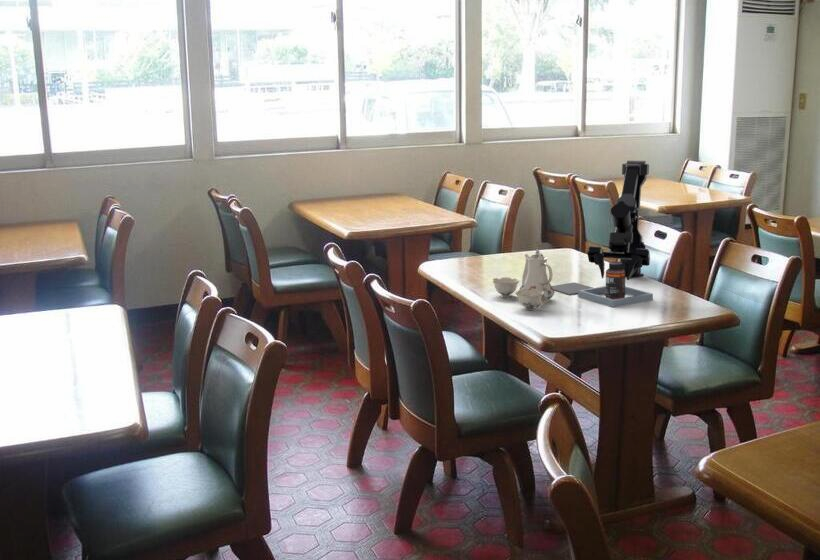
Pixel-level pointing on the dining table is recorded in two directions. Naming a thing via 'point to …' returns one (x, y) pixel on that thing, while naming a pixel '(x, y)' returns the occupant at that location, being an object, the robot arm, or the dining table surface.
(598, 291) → the bin
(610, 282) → the supplement bottle
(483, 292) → the dining table surface
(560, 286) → the mat
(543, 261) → the chinaware
